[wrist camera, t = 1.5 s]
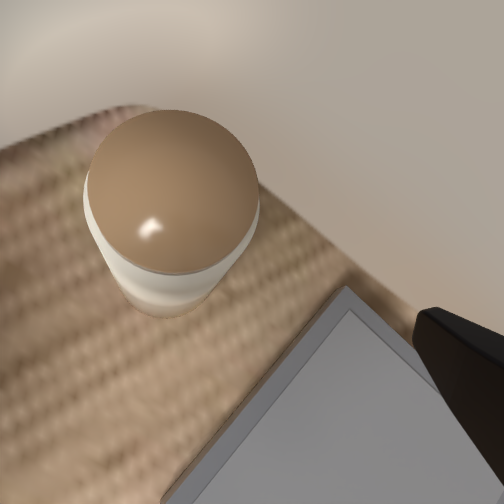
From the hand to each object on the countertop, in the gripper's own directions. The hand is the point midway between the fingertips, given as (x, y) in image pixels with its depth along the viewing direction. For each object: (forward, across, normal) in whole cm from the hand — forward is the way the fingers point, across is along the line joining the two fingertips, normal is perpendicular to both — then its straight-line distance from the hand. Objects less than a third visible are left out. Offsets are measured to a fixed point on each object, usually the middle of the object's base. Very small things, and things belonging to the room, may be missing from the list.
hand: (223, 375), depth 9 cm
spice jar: (+11, 0, +5) cm, 12 cm away
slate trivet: (+3, -6, +13) cm, 14 cm away
